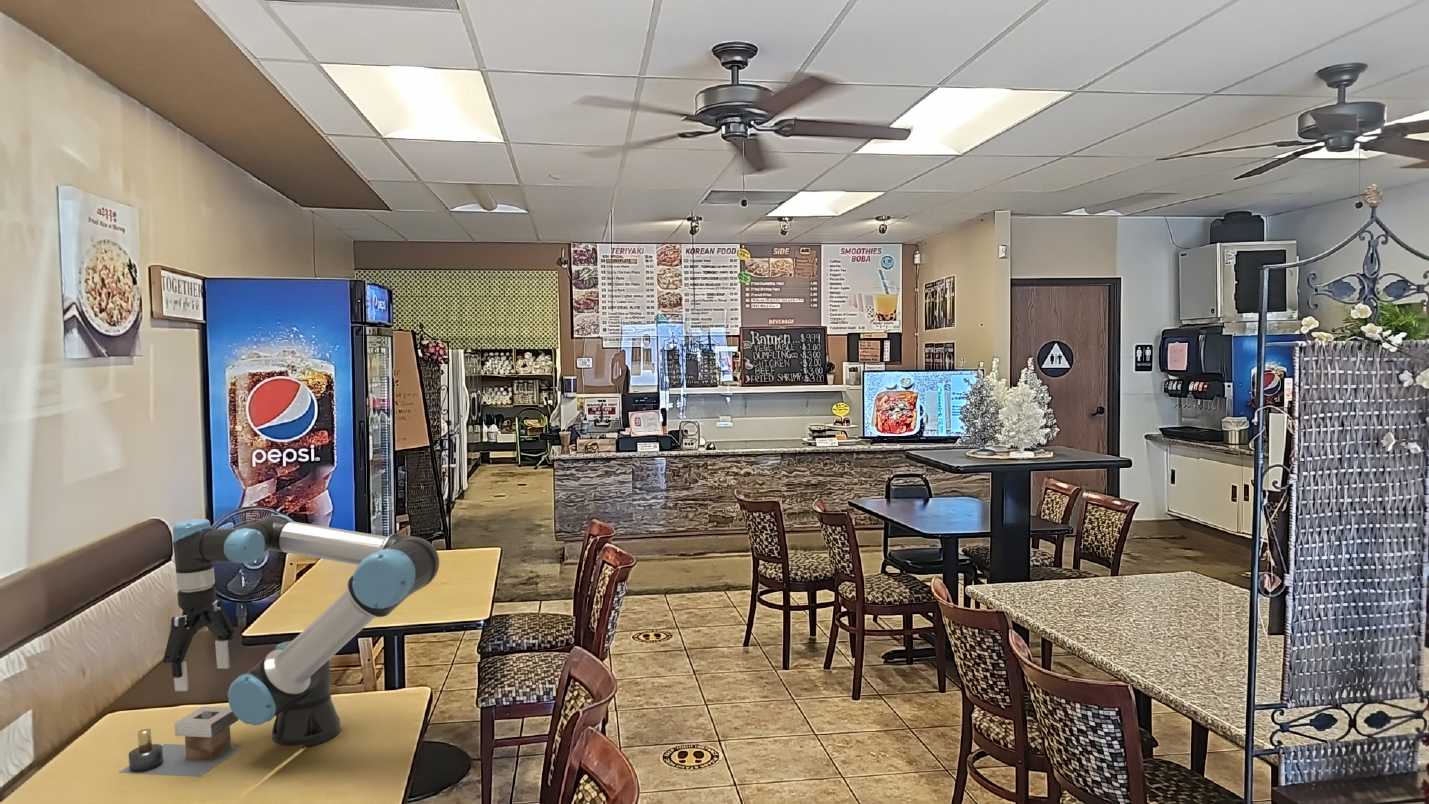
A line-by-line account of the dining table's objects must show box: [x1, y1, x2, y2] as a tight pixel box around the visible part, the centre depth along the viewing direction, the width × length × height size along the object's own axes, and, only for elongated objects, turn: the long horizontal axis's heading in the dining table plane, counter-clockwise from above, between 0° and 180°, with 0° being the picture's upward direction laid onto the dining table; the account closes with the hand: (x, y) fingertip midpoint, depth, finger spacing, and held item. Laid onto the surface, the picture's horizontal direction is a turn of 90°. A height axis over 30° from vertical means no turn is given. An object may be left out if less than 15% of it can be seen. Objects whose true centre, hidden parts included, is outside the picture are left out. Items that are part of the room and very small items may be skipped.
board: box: [118, 743, 243, 778], centre depth 202 cm, size 20×14×1 cm
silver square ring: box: [174, 706, 239, 737], centre depth 204 cm, size 9×9×3 cm
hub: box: [128, 728, 163, 774], centre depth 199 cm, size 6×6×8 cm
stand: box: [184, 711, 232, 760], centre depth 204 cm, size 6×6×10 cm
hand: (203, 678), depth 203 cm, fingers open, 13 cm apart
